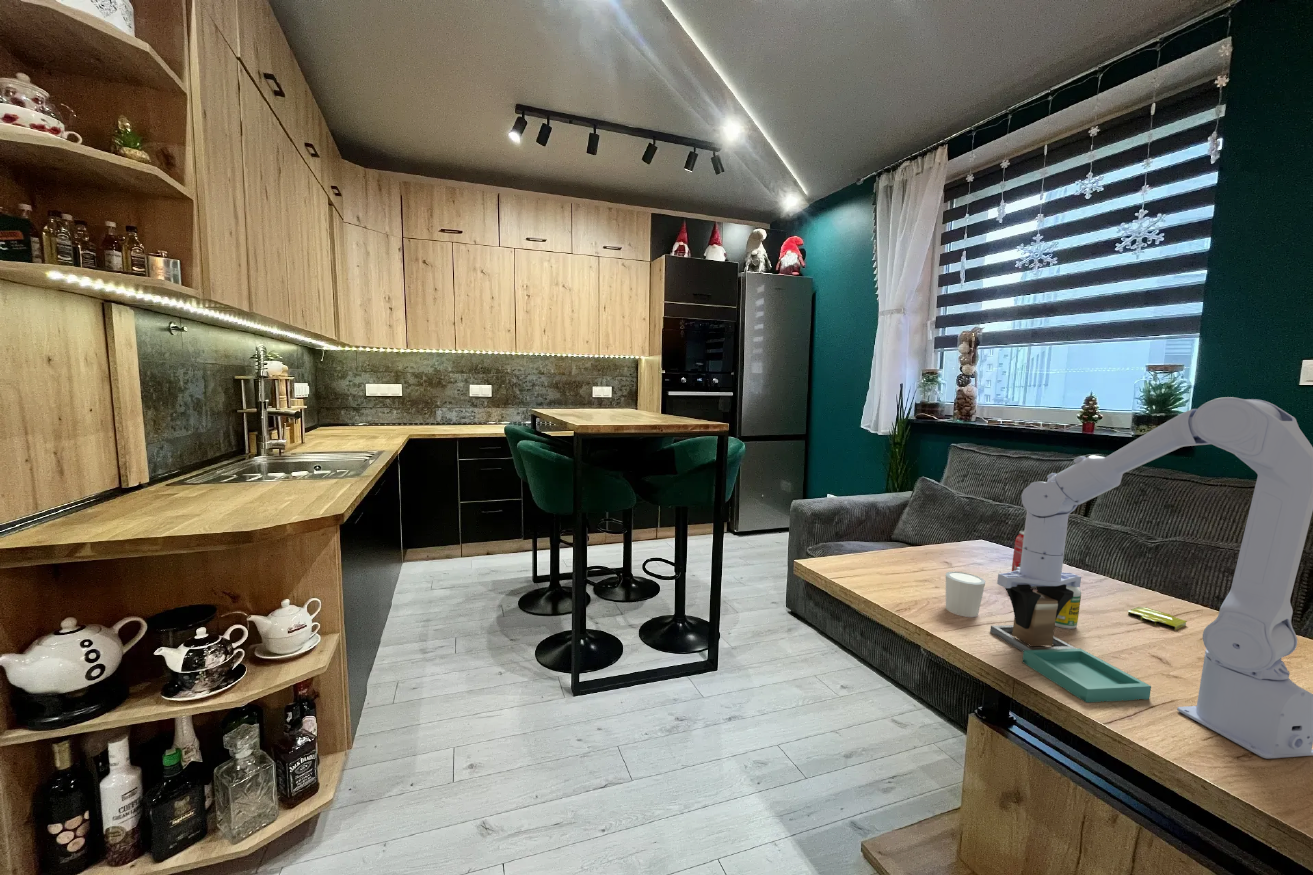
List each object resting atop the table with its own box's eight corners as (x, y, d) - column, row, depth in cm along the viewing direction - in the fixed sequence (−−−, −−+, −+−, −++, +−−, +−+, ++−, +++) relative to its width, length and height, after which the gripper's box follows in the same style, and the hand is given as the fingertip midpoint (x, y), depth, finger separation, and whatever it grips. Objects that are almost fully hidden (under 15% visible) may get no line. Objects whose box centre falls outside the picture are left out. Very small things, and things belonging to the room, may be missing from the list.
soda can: (1045, 583, 119) (1051, 533, 118) (1049, 592, 113) (1056, 540, 112) (1009, 575, 123) (1015, 527, 122) (1011, 584, 117) (1017, 534, 116)
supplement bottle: (1048, 614, 101) (1054, 568, 100) (1081, 625, 97) (1087, 577, 96) (1037, 620, 98) (1042, 572, 97) (1070, 632, 94) (1077, 582, 93)
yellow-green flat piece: (1198, 631, 98) (1201, 617, 98) (1179, 640, 94) (1182, 625, 94) (1132, 610, 107) (1134, 597, 107) (1112, 617, 103) (1114, 603, 103)
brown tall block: (1052, 645, 87) (1058, 600, 86) (1031, 646, 86) (1037, 601, 86) (1032, 634, 91) (1037, 591, 90) (1011, 634, 90) (1016, 591, 90)
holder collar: (1075, 655, 85) (1076, 648, 85) (1031, 656, 84) (1031, 649, 84) (1031, 630, 94) (1032, 624, 93) (990, 631, 92) (990, 625, 92)
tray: (1149, 699, 73) (1151, 686, 73) (1086, 702, 72) (1087, 689, 71) (1078, 659, 84) (1080, 648, 83) (1022, 661, 82) (1023, 650, 82)
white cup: (990, 616, 99) (993, 581, 99) (965, 620, 97) (969, 585, 96) (957, 601, 106) (961, 569, 105) (934, 605, 103) (937, 572, 102)
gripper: (1058, 543, 92) (1049, 614, 93) (987, 543, 90) (979, 616, 91) (1096, 556, 85) (1086, 632, 86) (1020, 556, 83) (1011, 635, 84)
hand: (1033, 625), depth 88 cm, fingers closed on brown tall block, 4 cm apart
